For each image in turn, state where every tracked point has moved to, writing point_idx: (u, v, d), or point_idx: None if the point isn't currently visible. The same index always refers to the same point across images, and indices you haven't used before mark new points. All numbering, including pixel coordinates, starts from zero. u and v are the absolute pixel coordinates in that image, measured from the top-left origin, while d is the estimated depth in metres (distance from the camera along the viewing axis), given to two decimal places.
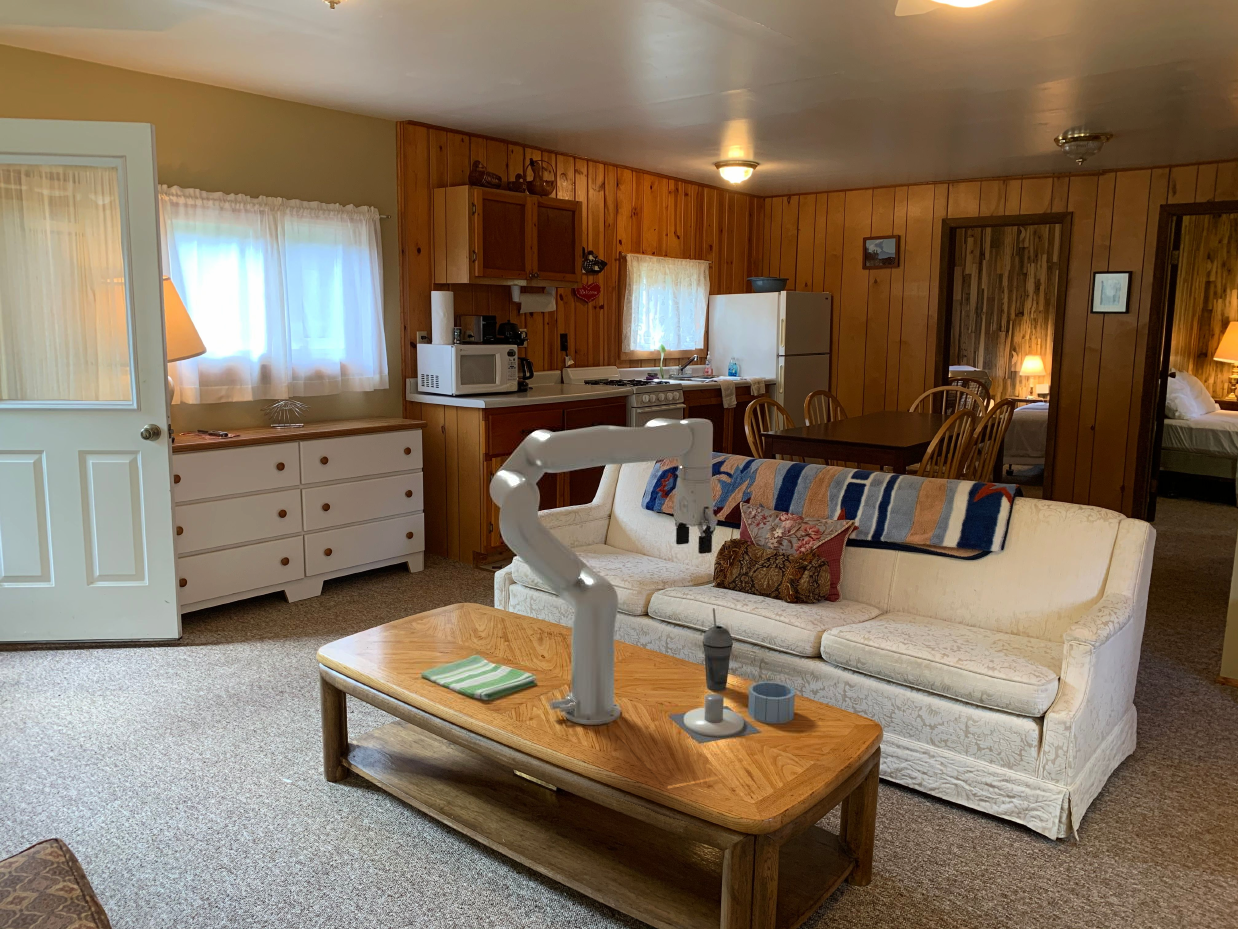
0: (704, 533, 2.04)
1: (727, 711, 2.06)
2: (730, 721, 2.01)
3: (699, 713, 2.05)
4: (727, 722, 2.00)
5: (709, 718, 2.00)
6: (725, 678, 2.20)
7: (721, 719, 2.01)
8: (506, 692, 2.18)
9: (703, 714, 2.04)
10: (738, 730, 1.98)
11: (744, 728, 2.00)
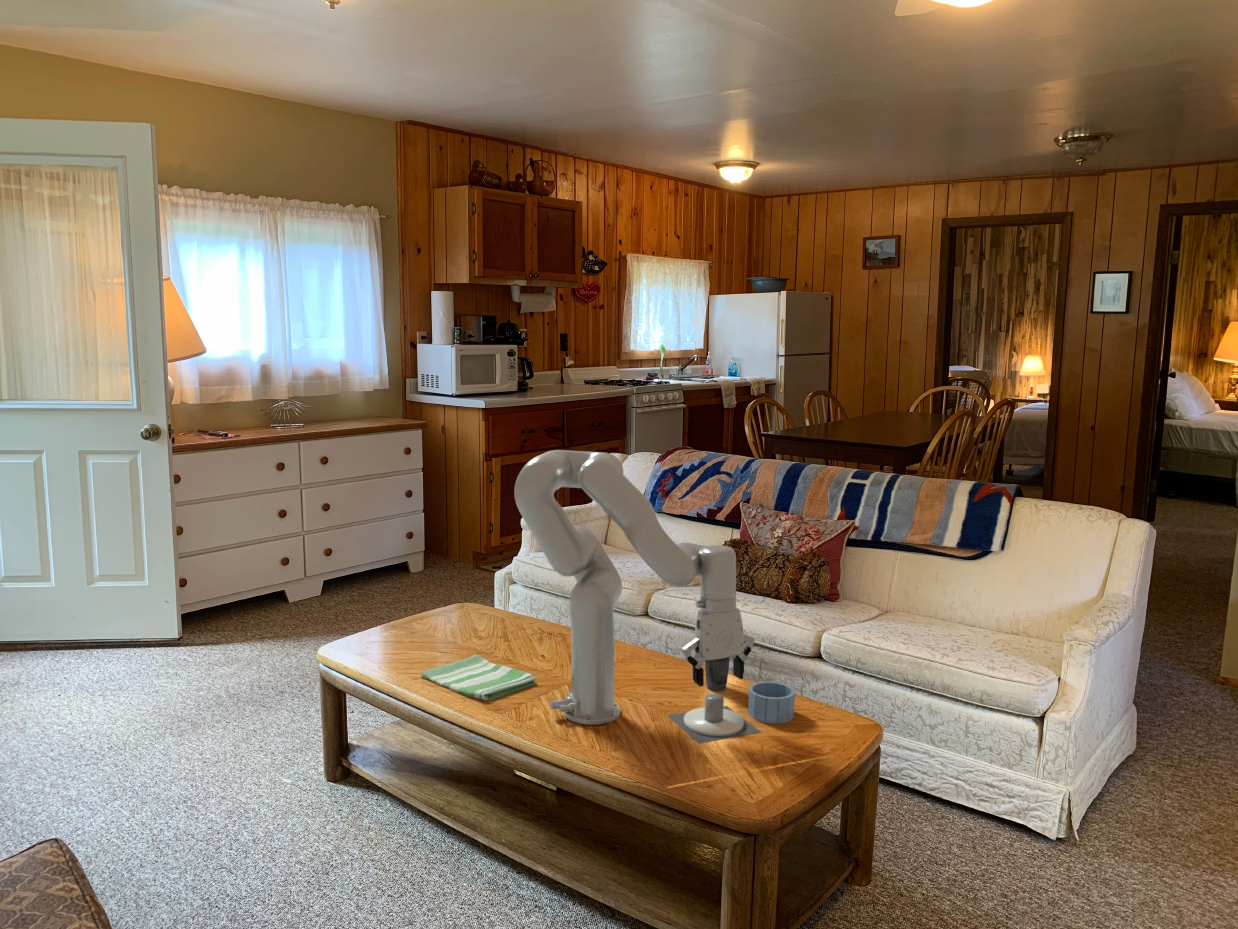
0: None
1: (727, 711, 2.06)
2: (730, 721, 2.01)
3: (699, 713, 2.05)
4: (727, 722, 2.00)
5: (709, 717, 2.00)
6: (725, 678, 2.20)
7: (721, 719, 2.01)
8: (506, 692, 2.18)
9: (703, 714, 2.04)
10: (738, 730, 1.98)
11: (744, 728, 2.00)
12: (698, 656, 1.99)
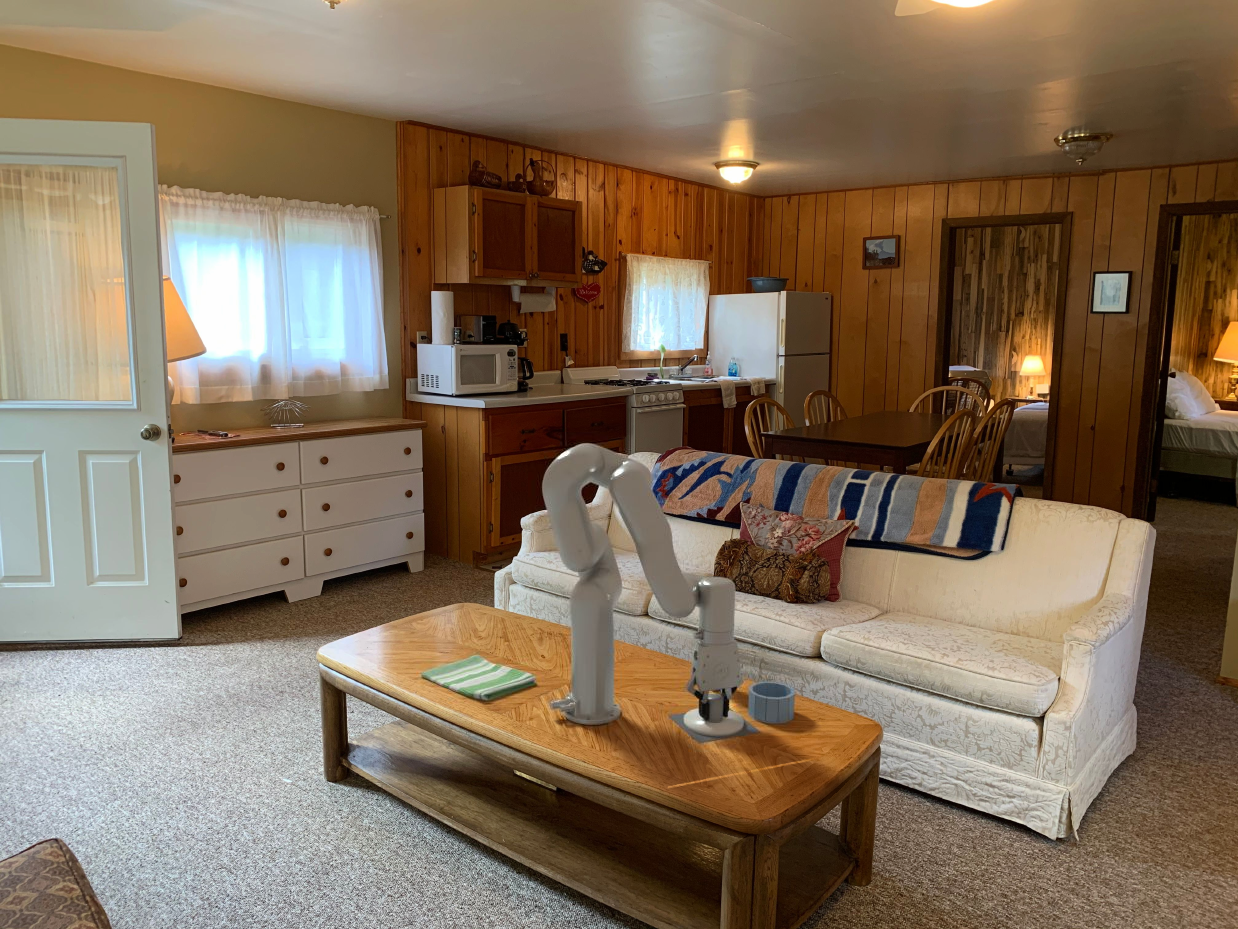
0: None
1: None
2: (730, 721, 2.01)
3: None
4: (727, 722, 2.00)
5: (709, 718, 2.00)
6: None
7: (721, 719, 2.01)
8: (506, 692, 2.18)
9: None
10: (738, 730, 1.98)
11: (744, 728, 2.00)
12: (701, 689, 2.01)
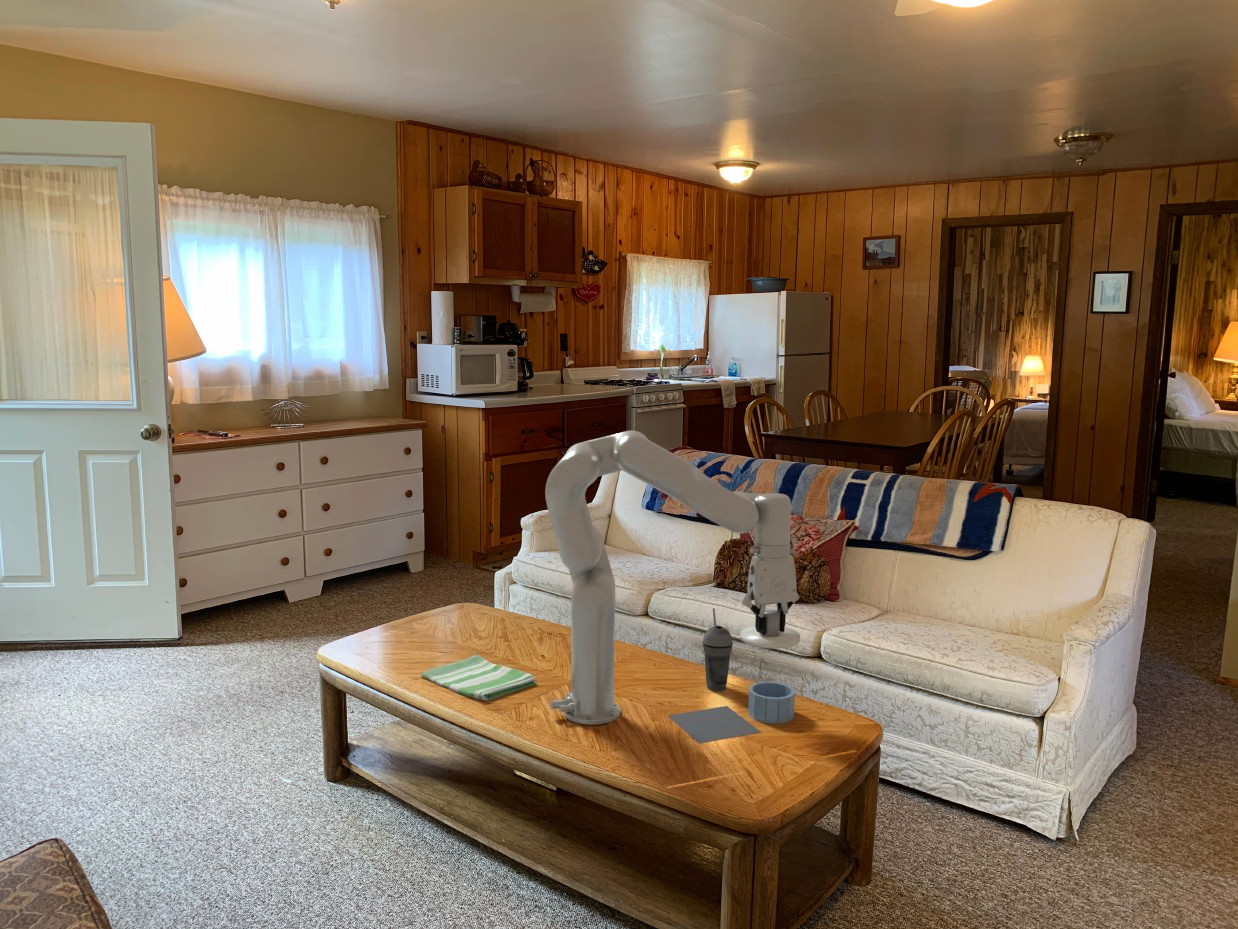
0: None
1: None
2: (787, 636, 2.03)
3: (755, 629, 2.07)
4: (784, 636, 2.03)
5: (766, 632, 2.03)
6: (725, 678, 2.20)
7: (778, 633, 2.03)
8: (506, 692, 2.17)
9: None
10: (795, 643, 2.00)
11: (744, 728, 2.00)
12: (757, 604, 2.03)
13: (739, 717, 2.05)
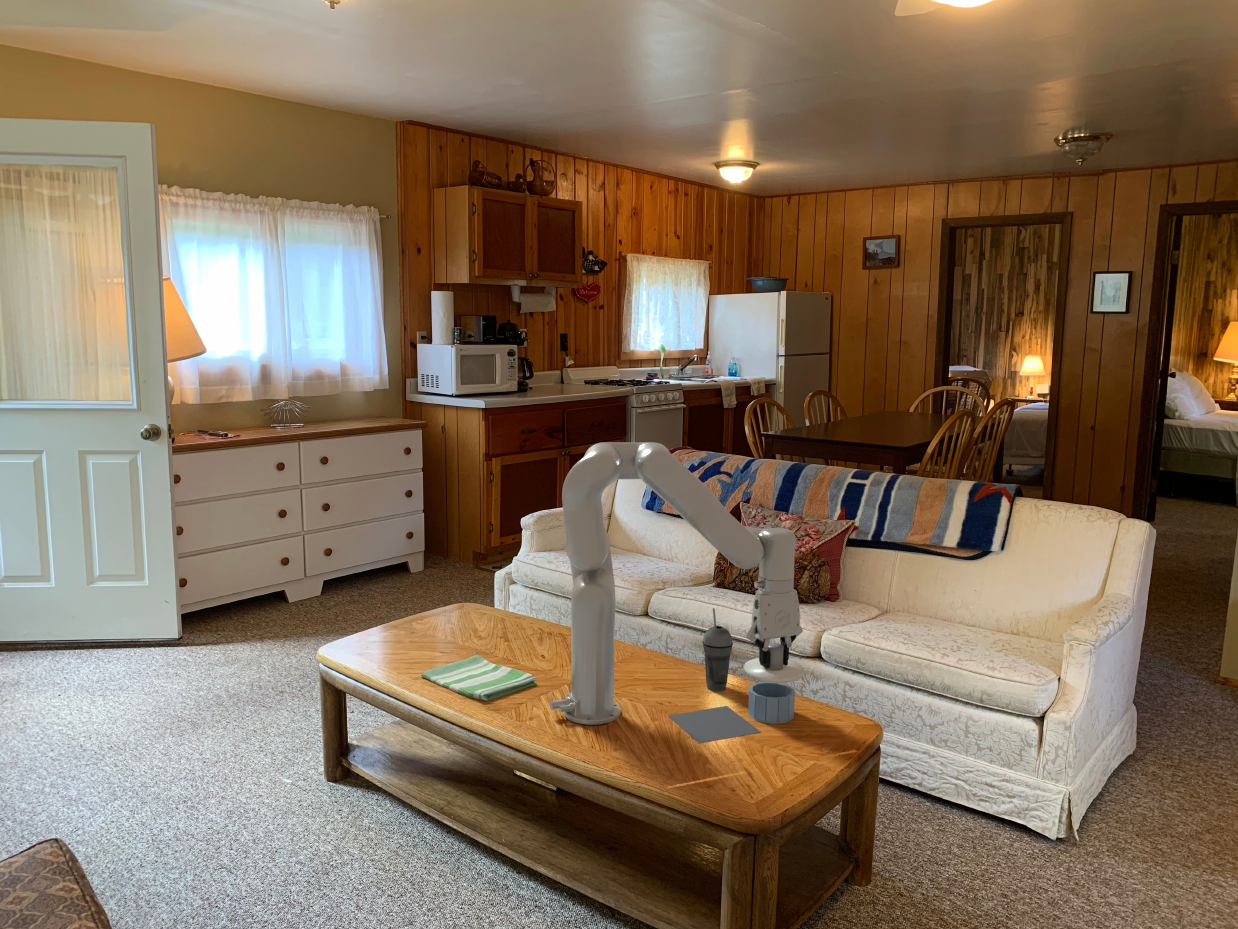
0: None
1: None
2: (790, 669, 2.05)
3: (759, 662, 2.09)
4: (787, 669, 2.04)
5: (770, 665, 2.04)
6: (725, 678, 2.20)
7: (781, 667, 2.05)
8: (506, 692, 2.17)
9: None
10: (799, 677, 2.02)
11: (744, 728, 2.00)
12: (761, 638, 2.05)
13: (739, 717, 2.05)
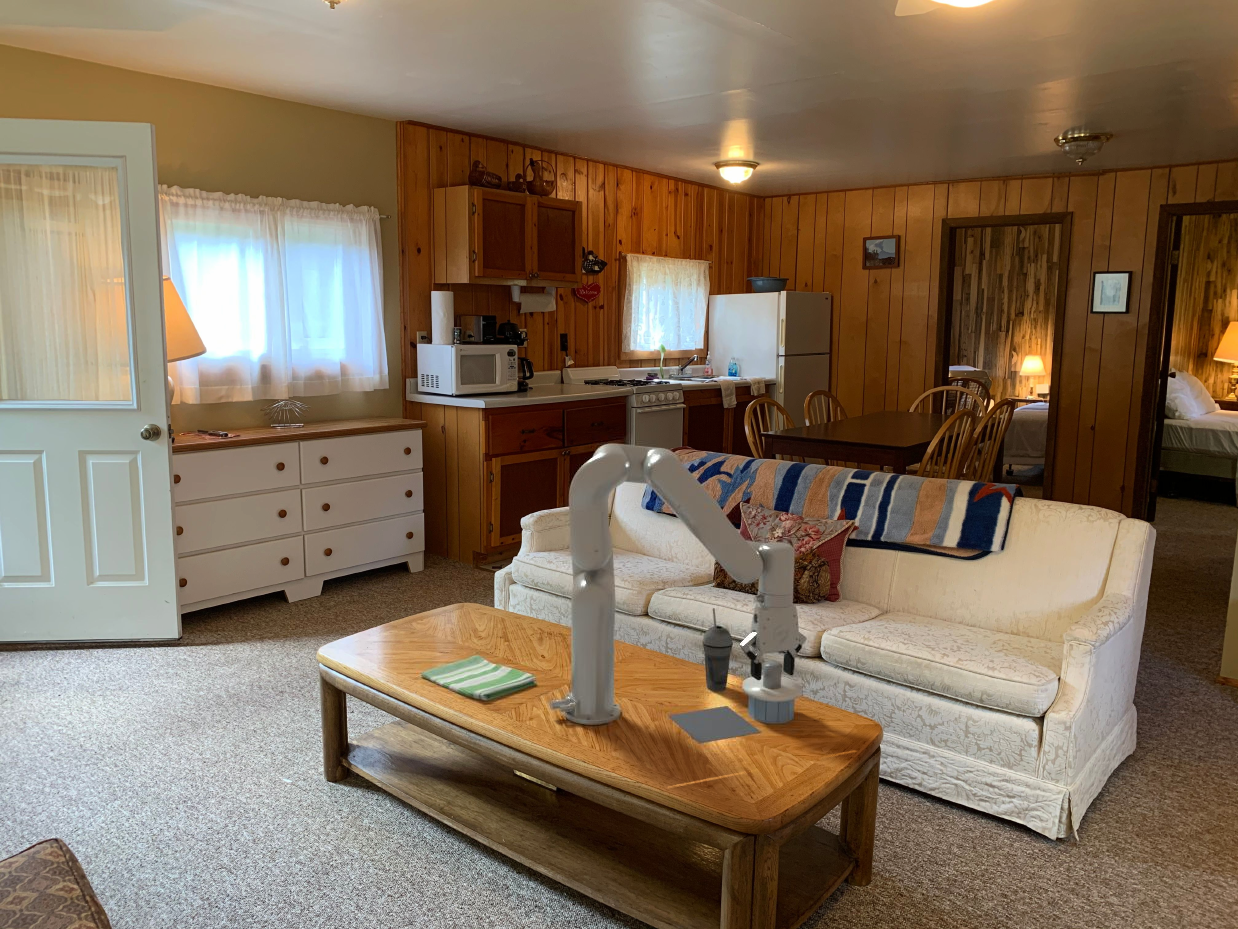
0: None
1: (783, 678, 2.11)
2: (788, 688, 2.05)
3: (757, 680, 2.10)
4: (785, 688, 2.05)
5: (768, 684, 2.05)
6: (725, 678, 2.20)
7: (779, 685, 2.05)
8: (505, 692, 2.17)
9: (761, 681, 2.09)
10: (797, 695, 2.02)
11: (744, 728, 2.00)
12: (755, 650, 2.05)
13: (739, 717, 2.05)
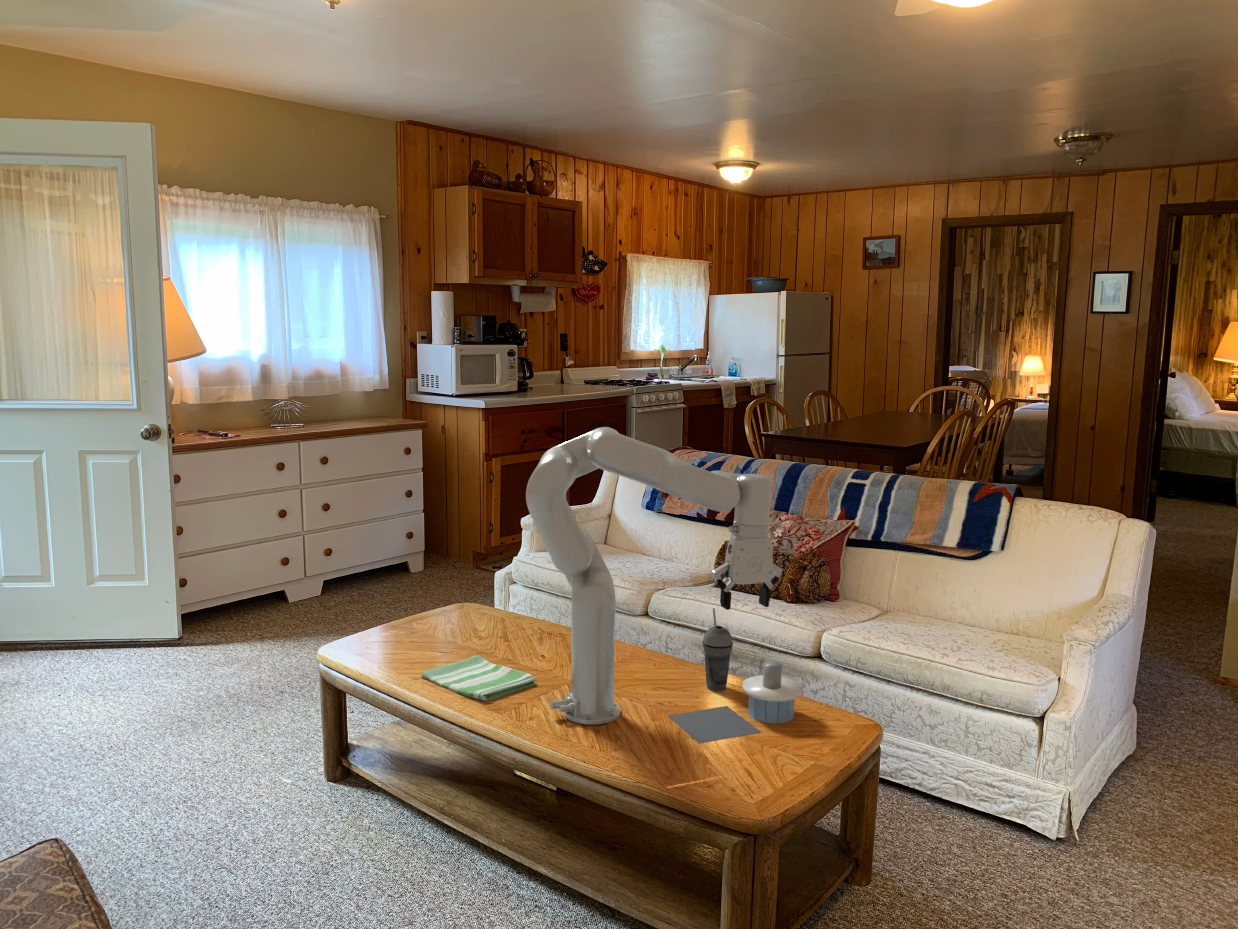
0: None
1: (783, 678, 2.11)
2: (788, 688, 2.05)
3: (757, 680, 2.10)
4: (785, 688, 2.05)
5: (768, 684, 2.05)
6: (725, 678, 2.20)
7: (779, 685, 2.05)
8: (505, 693, 2.17)
9: (761, 681, 2.09)
10: (797, 695, 2.02)
11: (744, 728, 2.00)
12: (726, 580, 2.03)
13: (739, 717, 2.05)
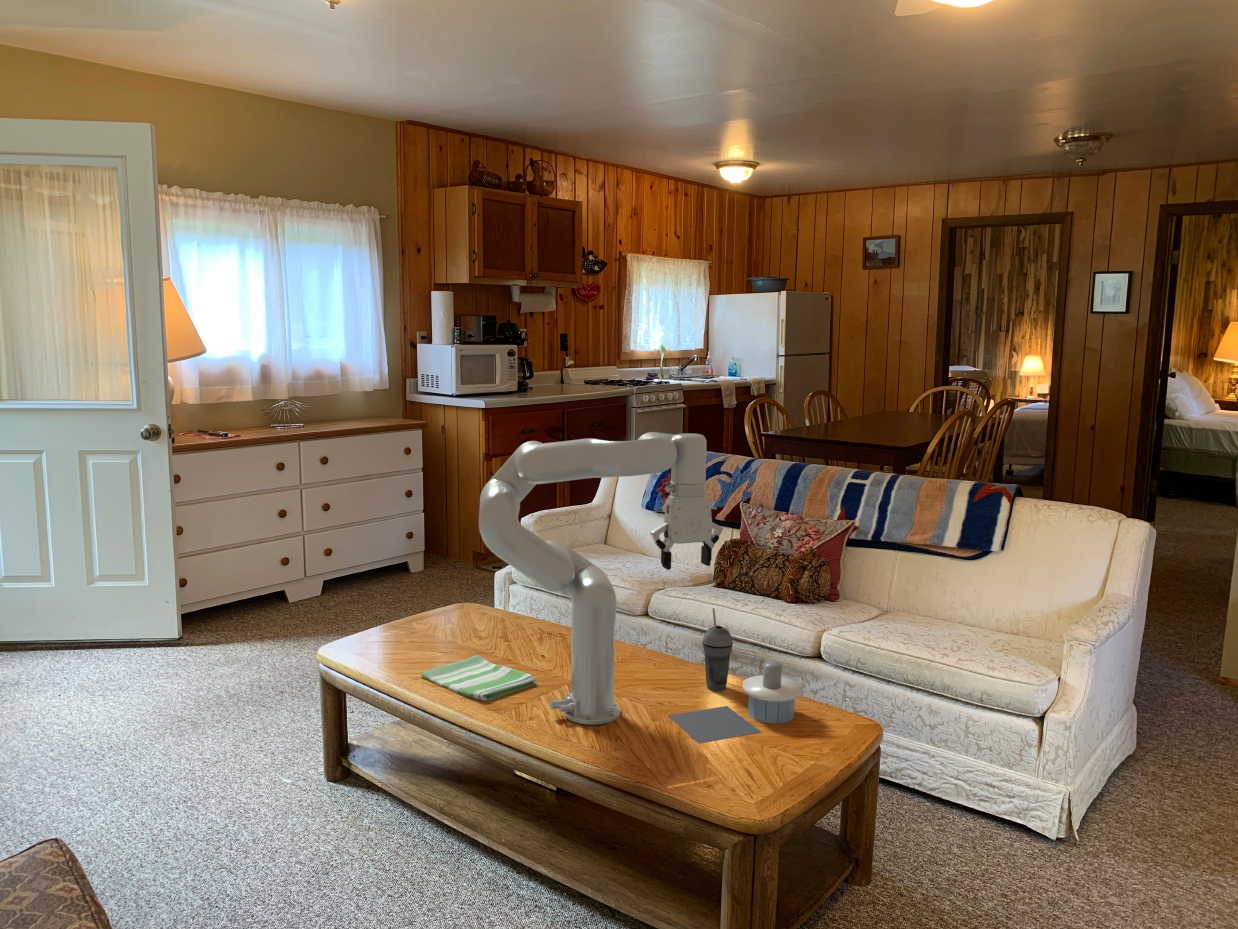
0: None
1: (783, 678, 2.11)
2: (788, 688, 2.05)
3: (757, 680, 2.10)
4: (785, 688, 2.05)
5: (768, 684, 2.05)
6: (725, 678, 2.20)
7: (779, 685, 2.05)
8: (505, 693, 2.17)
9: (761, 681, 2.09)
10: (797, 695, 2.02)
11: (744, 728, 2.00)
12: (666, 541, 2.04)
13: (739, 717, 2.05)
